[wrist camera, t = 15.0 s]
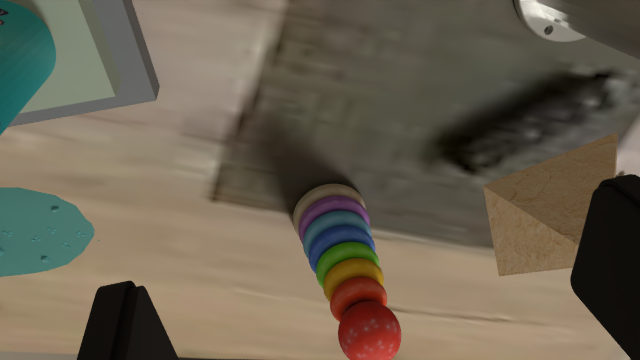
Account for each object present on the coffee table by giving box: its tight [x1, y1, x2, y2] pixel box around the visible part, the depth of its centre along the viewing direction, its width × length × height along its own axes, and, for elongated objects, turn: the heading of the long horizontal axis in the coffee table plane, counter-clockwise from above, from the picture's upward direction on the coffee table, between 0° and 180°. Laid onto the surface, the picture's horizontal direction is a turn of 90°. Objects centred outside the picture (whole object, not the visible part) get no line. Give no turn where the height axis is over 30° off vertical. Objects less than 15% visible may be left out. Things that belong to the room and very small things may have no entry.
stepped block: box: [7, 0, 160, 127], centre depth 33 cm, size 14×14×6 cm
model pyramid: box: [483, 132, 618, 276], centre depth 54 cm, size 17×17×10 cm
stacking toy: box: [293, 184, 401, 360], centre depth 43 cm, size 8×8×19 cm
